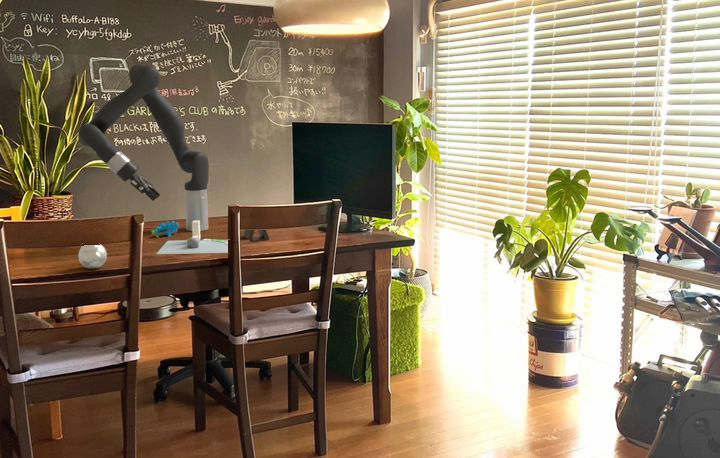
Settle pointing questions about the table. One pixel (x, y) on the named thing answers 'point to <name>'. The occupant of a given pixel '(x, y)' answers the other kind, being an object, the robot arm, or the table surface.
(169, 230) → the blue toy animal
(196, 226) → the white l-shaped block
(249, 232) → the door stopper
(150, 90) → the robot arm
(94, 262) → the grey round ball
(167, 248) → the board
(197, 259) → the table surface
